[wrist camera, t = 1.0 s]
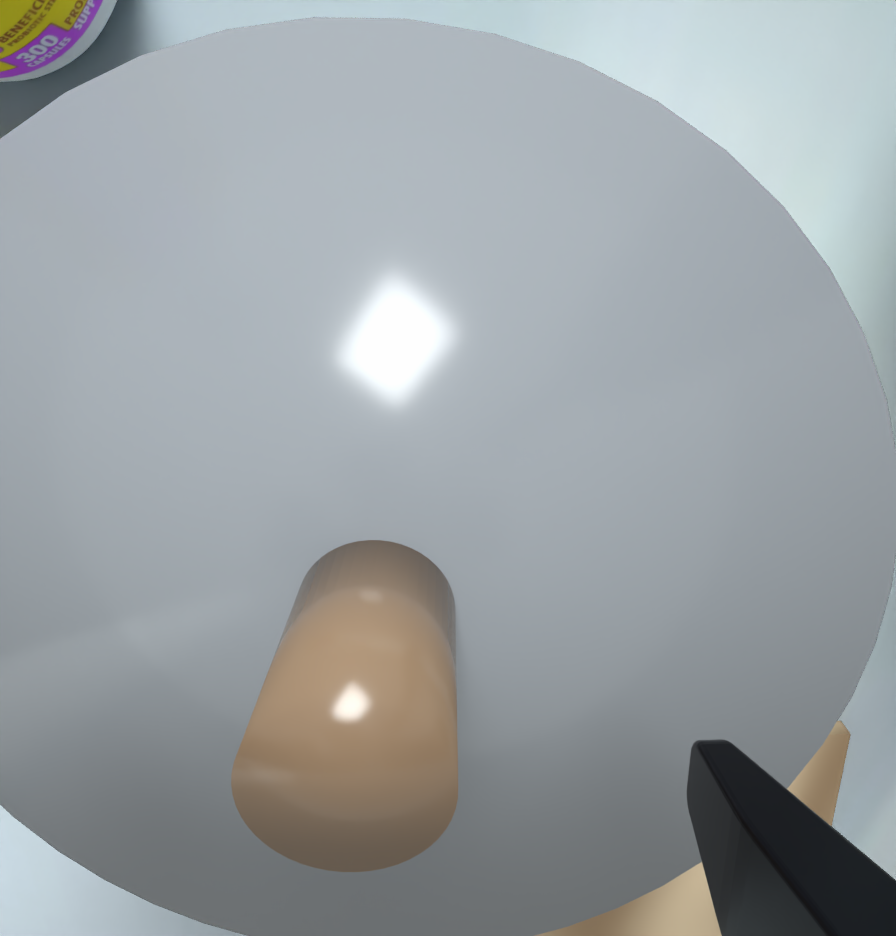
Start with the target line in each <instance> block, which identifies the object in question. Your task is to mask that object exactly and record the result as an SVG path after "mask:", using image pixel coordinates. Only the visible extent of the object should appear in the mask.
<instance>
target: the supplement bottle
mask: <svg viewBox="0 0 896 936" xmlns="http://www.w3.org/2000/svg"><path fill="white" fill-rule="evenodd" d="M116 2H117V0H0V82H9V81H22V80H27V79H33V78H38V77H41V76H43V75H46V74H49V73H51V72H53V71H55V70H58V69H60V68H62V67H64V66H65V65H67V64H69V63H70V62H72V61H73V60H75V59H76V58H77V57H78V56H80V55H81V54H82V53H83V52H84V51H86V50H87V49H88V48H89V47H90V46H91V44H92V43H93V42H94V41H95V39H96V38H97V37H98V36H99V34H100V33H101V31H102V30H103V28H104V27H105V25H106V23H107V21H108V19H109V17H110V15H111V13H112V11H113V9H114V7H115V4H116Z"/></svg>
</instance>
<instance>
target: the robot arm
mask: <svg viewBox="0 0 896 936" xmlns="http://www.w3.org/2000/svg"><path fill="white" fill-rule="evenodd" d="M687 805H688V810H689V814H690V818H691V822H692V826H693V830H694V833H695V837H696V841H697V845H698V849H699V853H700V856H701V860H702V864H703V868H704V872H705V875H706V879H707V883H708V887H709V891H710V895H711V898H712V902H713V906H714V910H715V914H716V917H717V921H718V925H719V928H720V932H721V935H722V936H896V880H895V879H894V878H892V877H891V876H890V875H889V874H888V873H886V872H885V871H884V870H883V869H882V868H880V867H879V866H878V865H877V864H876V863H874V862H873V861H872V860H871V859H870V858H869V857H867V856H866V855H865V854H864V853H863V852H861V851H860V850H859V849H858V848H857V847H855V846H854V845H853V844H852V843H851V842H849V841H848V840H847V839H846V838H845V837H844V836H842V835H841V834H840V833H839V832H838V831H836V830H835V829H834V828H833V827H832V826H830V825H829V824H828V823H827V822H826V821H824V820H823V819H822V818H821V817H820V816H818V815H817V814H816V813H815V812H814V811H813V810H811V809H810V808H809V807H808V806H807V805H805V804H804V803H803V802H802V801H801V800H799V799H798V798H797V797H796V796H795V795H793V794H792V793H791V792H790V791H789V790H787V789H786V788H785V787H784V786H783V785H782V784H780V783H779V782H778V781H777V780H776V779H774V778H773V777H772V776H771V775H770V774H768V773H767V772H766V771H765V770H764V769H762V768H761V767H760V766H759V765H758V764H756V763H755V762H754V761H753V760H752V759H751V758H749V757H748V756H747V755H746V754H745V753H743V752H742V751H741V750H740V749H739V748H737V747H736V746H735V745H734V744H732V743H731V742H729V741H727V740H723V739H717V740H697V741H695V742H694V743H693V745H692V748H691V753H690V763H689V772H688V781H687Z"/></svg>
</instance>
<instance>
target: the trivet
mask: <svg viewBox="0 0 896 936" xmlns="http://www.w3.org/2000/svg"><path fill="white" fill-rule="evenodd" d="M849 739H850V733H849V731H848V730H847V728H846V727H845V726H844V724H843V723H842V722H841V721H837V722H836V724H835V725H834V727H833V729H832V730H831V732H830V734H829V735H828V737H827V738H826V740H825V742H824V743H823V745H822V746H821V747H820V749H819V750H818V751H817V752H816V754H815V755H814V756H813V757H812V759H811V760H810V761H809V762H808V764H807V765H806V766H805V767H804V769H803V770H802V771H801V772H800V774H799V775H798V776H797V777H796V779H795V780H794V781H793V782H792V784H791V785H790V786H789V787H788V788H787V790H789V791H790V792H791V793H792V794H793V795H795V796H796V797H797V798H798V799H799V800H801V801H802V802H803V803H804V804H805V805H807V806H808V807H809V808H810V809H811V810H813V811H814V812H815V813H816V814H817V815H818V816H820V817H821V818H822V819H823V820H824V821H826V822H827V823H828V824H829V825H830V826H832V821H833V816H834V812H835V807H836V802H837V797H838V792H839V787H840V783H841V778H842V773H843V768H844V763H845V758H846V753H847V749H848V744H849ZM535 936H722V935H721V932H720V928H719V925H718V921H717V917H716V914H715V910H714V906H713V902H712V898H711V895H710V891H709V887H708V883H707V879H706V875H705V872H704V868H703V864H702V862H701V863H699V864H697V865H696V866H694V867H693V868H691V869H689V870H688V871H686V872H684V873H683V874H681V875H680V876H678V877H676V878H675V879H673V880H672V881H670V882H668V883H667V884H665V885H664V886H662V887H660V888H658V889H656V890H653V891H651V892H649V893H647V894H645V895H643V896H641V897H639V898H637V899H635V900H633V901H631V902H629V903H627V904H625V905H623V906H621V907H619V908H616V909H614V910H611V911H609V912H606V913H603V914H601V915H598V916H595V917H592V918H590V919H587V920H584V921H582V922H579V923H576V924H574V925H571V926H568V927H565V928H561V929H557V930H554V931H550V932H546V933H542V934H539V935H535Z"/></svg>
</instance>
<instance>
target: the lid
mask: <svg viewBox="0 0 896 936" xmlns="http://www.w3.org/2000/svg"><path fill="white" fill-rule="evenodd" d="M895 556H896V450H895V444H894V438H893V432H892V427H891V421H890V415H889V409H888V403H887V398H886V396H885V393H884V390H883V387H882V384H881V381H880V378H879V375H878V372H877V369H876V366H875V363H874V360H873V357H872V354H871V351H870V348H869V346H868V343H867V340H866V337H865V334H864V332H863V330H862V328H861V326H860V324H859V322H858V320H857V318H856V317H855V315H854V313H853V311H852V309H851V307H850V305H849V303H848V301H847V300H846V298H845V296H844V294H843V292H842V290H841V288H840V286H839V284H838V282H837V281H836V279H835V277H834V275H833V273H832V271H831V269H830V268H829V266H828V265H827V264H826V262H825V261H824V260H823V258H822V257H821V256H820V254H819V253H818V252H817V250H816V249H815V248H814V246H813V245H812V244H811V242H810V241H809V240H808V238H807V237H806V236H805V234H804V233H803V232H802V230H801V229H800V227H799V226H798V225H797V223H796V222H795V221H794V219H793V218H792V217H791V215H790V214H789V213H788V211H787V210H786V209H785V207H784V206H783V205H782V204H781V203H780V202H779V201H778V200H777V199H776V198H774V197H773V196H772V195H771V194H770V193H769V192H768V191H767V190H766V189H765V188H764V187H763V186H762V185H761V184H760V183H759V182H758V181H757V180H756V179H755V178H754V177H753V176H752V175H751V174H750V173H749V172H748V171H747V170H746V169H745V168H744V167H743V166H742V165H741V164H740V163H739V162H738V161H737V160H736V159H735V158H734V157H733V156H732V155H731V154H730V153H728V152H727V151H726V150H725V149H724V148H722V147H721V146H719V145H718V144H717V143H715V142H714V141H712V140H711V139H710V138H708V137H707V136H705V135H704V134H703V133H701V132H700V131H698V130H697V129H696V128H694V127H693V126H692V125H690V124H689V123H687V122H686V121H685V120H683V119H682V118H680V117H679V116H678V115H676V114H675V113H673V112H672V111H671V110H669V109H668V108H666V107H665V106H664V105H662V104H661V103H659V102H658V101H656V100H654V99H652V98H650V97H648V96H646V95H644V94H642V93H640V92H638V91H636V90H634V89H632V88H630V87H628V86H626V85H624V84H623V83H621V82H619V81H617V80H615V79H613V78H611V77H609V76H607V75H605V74H603V73H601V72H599V71H597V70H595V69H593V68H591V67H589V66H587V65H585V64H583V63H581V62H579V61H576V60H573V59H570V58H567V57H564V56H560V55H557V54H554V53H551V52H548V51H545V50H542V49H539V48H536V47H533V46H530V45H527V44H524V43H521V42H518V41H515V40H512V39H509V38H506V37H503V36H500V35H497V34H493V33H487V32H481V31H475V30H469V29H463V28H457V27H451V26H445V25H439V24H434V23H428V22H422V21H416V20H410V19H392V18H327V17H313V18H306V19H298V20H291V21H284V22H277V23H270V24H262V25H255V26H248V27H241V28H234V29H227V30H223V31H219V32H216V33H213V34H209V35H206V36H203V37H200V38H196V39H193V40H190V41H186V42H183V43H180V44H176V45H173V46H170V47H167V48H163V49H160V50H157V51H153V52H150V53H147V54H144V55H141V56H139V57H137V58H135V59H132V60H130V61H128V62H126V63H124V64H122V65H120V66H118V67H116V68H114V69H112V70H110V71H108V72H106V73H104V74H102V75H100V76H98V77H96V78H94V79H92V80H90V81H87V82H85V83H83V84H81V85H79V86H77V87H75V88H73V89H71V90H69V91H67V92H65V93H64V94H62V95H61V96H59V97H58V98H57V99H55V100H54V101H52V102H51V103H50V104H48V105H47V106H45V107H44V108H43V109H41V110H40V111H38V112H37V113H36V114H34V115H33V116H31V117H30V118H29V119H27V120H26V121H24V122H23V123H21V124H20V125H19V126H17V127H16V128H14V129H13V130H12V131H10V132H9V133H7V134H6V135H5V136H3V137H2V138H0V805H1V806H2V807H4V808H5V809H6V810H7V811H8V812H9V813H10V814H11V815H12V816H13V817H14V818H16V819H17V820H18V821H19V822H21V823H22V824H23V825H25V826H26V827H27V828H29V829H30V830H31V831H33V832H34V833H35V834H36V835H38V836H39V837H40V838H42V839H43V840H44V841H46V842H47V843H48V844H49V845H51V846H52V847H53V848H55V849H56V850H57V851H59V852H60V853H62V854H64V855H65V856H67V857H69V858H70V859H72V860H73V861H75V862H77V863H78V864H80V865H81V866H83V867H85V868H86V869H88V870H90V871H91V872H93V873H94V874H96V875H98V876H99V877H101V878H102V879H104V880H106V881H108V882H110V883H112V884H114V885H116V886H118V887H120V888H122V889H124V890H126V891H128V892H130V893H132V894H134V895H136V896H138V897H140V898H142V899H144V900H146V901H148V902H151V903H153V904H155V905H158V906H160V907H163V908H165V909H168V910H171V911H173V912H176V913H178V914H181V915H184V916H186V917H189V918H191V919H194V920H197V921H199V922H202V923H205V924H208V925H212V926H215V927H219V928H223V929H226V930H230V931H233V932H237V933H240V934H244V935H247V936H535V935H539V934H542V933H546V932H550V931H554V930H557V929H561V928H565V927H568V926H571V925H574V924H576V923H579V922H582V921H584V920H587V919H590V918H592V917H595V916H598V915H601V914H603V913H606V912H609V911H611V910H614V909H616V908H619V907H621V906H623V905H625V904H627V903H629V902H631V901H633V900H635V899H637V898H639V897H641V896H643V895H645V894H647V893H649V892H651V891H653V890H656V889H658V888H660V887H662V886H664V885H665V884H667V883H668V882H670V881H672V880H673V879H675V878H676V877H678V876H680V875H681V874H683V873H684V872H686V871H688V870H689V869H691V868H693V867H694V866H696V865H697V864H699V863H701V862H702V860H701V856H700V853H699V849H698V845H697V841H696V837H695V833H694V830H693V826H692V822H691V818H690V814H689V810H688V805H687V781H688V772H689V763H690V753H691V748H692V745H693V743H694V742H695V741H697V740H717V739H723V740H727V741H729V742H731V743H732V744H734V745H735V746H736V747H737V748H739V749H740V750H741V751H742V752H743V753H745V754H746V755H747V756H748V757H749V758H751V759H752V760H753V761H754V762H755V763H756V764H758V765H759V766H760V767H761V768H762V769H764V770H765V771H766V772H767V773H768V774H770V775H771V776H772V777H773V778H774V779H776V780H777V781H778V782H779V783H780V784H782V785H783V786H784V787H785V788H786V789H787V788H788V787H789V786H790V785H791V784H792V782H793V781H794V780H795V779H796V777H797V776H798V775H799V774H800V772H801V771H802V770H803V769H804V767H805V766H806V765H807V764H808V762H809V761H810V760H811V759H812V757H813V756H814V755H815V754H816V752H817V751H818V750H819V749H820V747H821V746H822V745H823V743H824V742H825V740H826V738H827V737H828V735H829V734H830V732H831V730H832V729H833V727H834V725H835V724H836V722H837V720H838V719H839V717H840V716H841V714H842V712H843V711H844V709H845V707H846V706H847V704H848V702H849V701H850V699H851V698H852V696H853V693H854V691H855V689H856V687H857V684H858V682H859V680H860V678H861V675H862V673H863V671H864V669H865V666H866V664H867V662H868V659H869V657H870V655H871V653H872V650H873V648H874V646H875V643H876V640H877V636H878V633H879V629H880V626H881V622H882V619H883V615H884V612H885V608H886V605H887V601H888V598H889V594H890V590H891V586H892V578H893V571H894V563H895Z"/></svg>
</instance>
